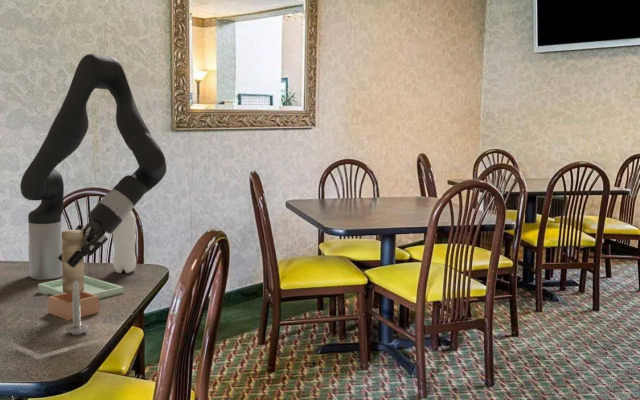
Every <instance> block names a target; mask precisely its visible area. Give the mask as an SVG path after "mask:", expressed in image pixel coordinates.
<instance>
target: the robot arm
mask: <svg viewBox="0 0 640 400" xmlns="http://www.w3.org/2000/svg"><path fill="white" fill-rule="evenodd" d="M95 89H99V90H100V89H101V90H107V91H108V92H109V93H110V95H111V96H112V97H113V99H114V101H115V104H116V109H115V110H116V111H115V122H116V123H115V124H116V127H117V129H118V131H119V133H120V135H121V137H122V138H123V142H125V145H126V147H128V149H129V150H130V151H132V154H133V156H134V157H135V160H136V162H137V165H138V167H137V169H136V170H135V171H134V172H133V173H132V174H126V175H125V176H123V177H122V178H121V179H120V180H119V181H118V183H117V184H115V186H114V187H113V188H112V189H111V190H110V191H109V192H107V194H105V195H104V197H102V199H101V200H100V201H99V202H98V203H97V204H96V205H95V206H94V207H93V209H92V210H90V212H89V213H88V215H87V217H88V219H89V222H88V223H86V224H85V225H84V226H83V225H81V224H78V225H77V227H76V228H75V229H74V230H81V231H83V239H82V241H81V245H80V247H79V248H78V251H76V252H75V253H74V254H73V255H72V256H71V257H70V258H69V260H68V261H67V264H68V265H70V266H71V267H75V266H76V265H77V264H78V263H79V262H80V260H81V259H82V258H83V257H88V256H90V257H92V255H94V253H96V251H98V250H99V249H100V248H101V247H102V246H103V245H104V244H105V243H106V242H107V241H108V240H109V238H108V237H107V236H105V234H106V233H107V234H110V235H111V234H113V231H114V230H115V229H116V228H117V227H118V226H119V225H120V223H121V222H122V221H123V220H124V219H125V218H126V217H127V215H128V214H129V213H130V211H131V210H132V211H133V208H134V207H135V206H136V205H137V203H138V202H139V201H140V200H141V199H142V198H143V196H144V195H145V194H147V193H148V192H149V191H151V190H152V189H153V188H155V186H157V185H158V184H159V183H160V182H161V181H162V179H163V178H164V177H165V175H166V173H167V162H166V156H165V154H164V152H163V150H162V148H161V147H160V145H158V143H157V142H156V141H155V139H154V137H152V134H151V132H150V131H149V128H148V126H147V124H146V123H145V121H144V119H143V118H142V116H141V113H140V111H139V109H138V106H137V105H136V101H135V99H134V96H133V93H132V90H131V88H130V84H129V80H128V78H127V75H126V73H125V70H124V68H123V66H122V64H121V62H120V61H119V60H118V59H116V57H113V56H110V55H102V54H97V53H95V54H94V53H88V54H85V55H84V56H83V57H82V58H81V59H80V60H79V62H78V64H77V66H76V69H75V71H74V74H73V77H72V80H71V83H70V86H69V88H68V91H67V94H66V95H65V97H64V100H63V102H62V104H61V107H60V109H59V111H58V113H57V115H56V116H55V118H54V120H53V122H52V124H51V125H50V129H49V130H48V133H47V135H46V137H45V138H44V140H43V142H42V144H41V146H40V148H39V150H38V151H37V153H36V154H35V157H33V159H32V160H31V163H30V164H29V165H28V167H27V169H26V170H25V172H24V173H23V175H22V178H21V181H20V184H19V185H20V192H21V195H22V197H23V198H24V199H26V200H28V201H40V204H39V205H38V206H37V207H36V208H35V209H33V210H32V211H31V210H30V212H28V214H27V215H28V217H27V219H28V220H27V222H28V269H29V270H28V271H29V272H28V274H29V277H30V278H31V279H33V280H38V281H39V280H52V279H58V278H60V277H62V214H63V212H64V194H65V193H64V192H65V190H64V189H65V188H64V179H63V176H62V174H61V173H60V172H59V171H58V170H57V169H55V168H56V167H58V165H59V164H61V163H62V162H63V161H65V159H67V158H68V157H70V156H71V155H72V154H73V153H74V152H75V151H77V149H78V148H79V147H80V146H81V143H82V142H83V140H84V138H85V136H86V134H87V132H88V129H89V117H88V110H87V104H88V101H89V99H90V97H91V95H92V93H93V92H94V90H95Z"/></svg>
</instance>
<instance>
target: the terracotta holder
mask: <svg viewBox="0 0 640 400" xmlns="http://www.w3.org/2000/svg"><path fill="white" fill-rule="evenodd" d="M79 293H80V299H81V300H80V304H81V305H80V306H81V307H80V309H81V310H80V311H81V313H80V314H81V315H80V316H81V318H82V317H86V316H91V315H94V314H99V313H100V299H99V296H97V295H94V294H91V293H88V292H85V291H82V292H79ZM72 296H73V294H72V293H63V294H58V295H50V296H48V298H47V299H48V314H50V315H53V316H56V317H59V318H61V319H64V320H66V321H70V320H71V321H73V317H72V316H73V312H72V311H73V309H72V308H73V307H72V306H73V304H72V303H73V302H72V301H73V299H72V298H73V297H72Z"/></svg>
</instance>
